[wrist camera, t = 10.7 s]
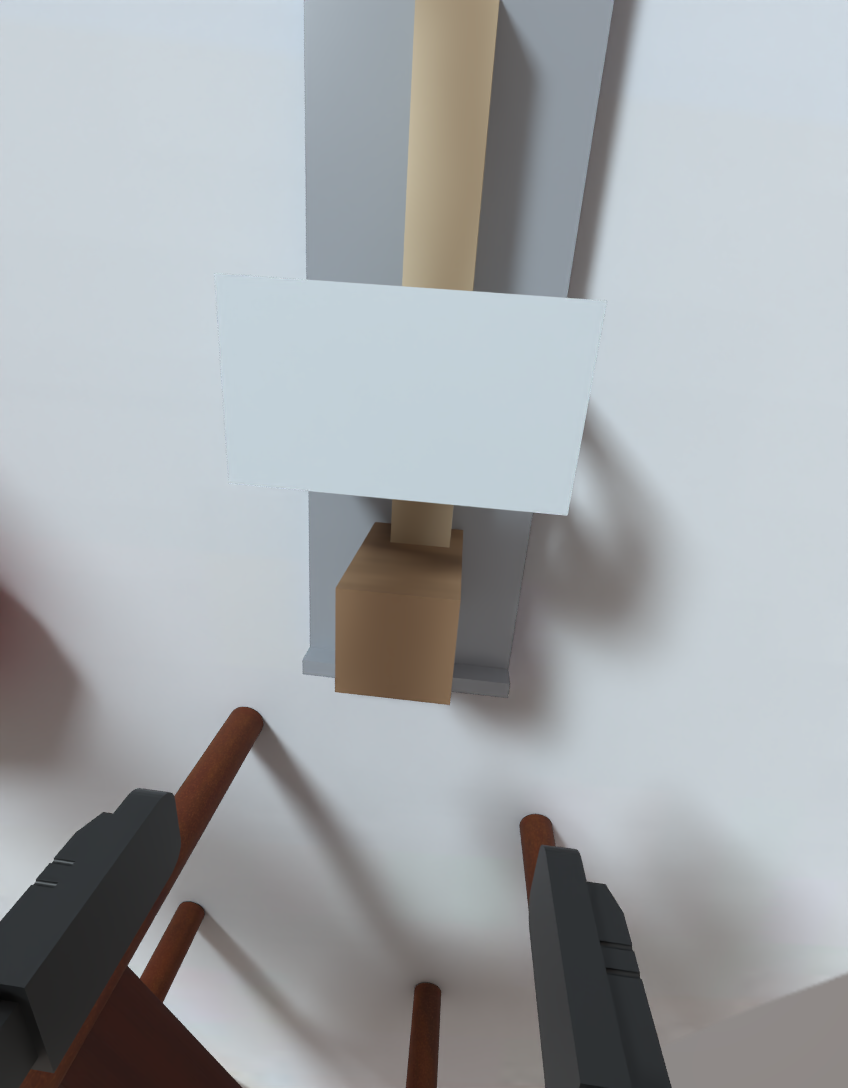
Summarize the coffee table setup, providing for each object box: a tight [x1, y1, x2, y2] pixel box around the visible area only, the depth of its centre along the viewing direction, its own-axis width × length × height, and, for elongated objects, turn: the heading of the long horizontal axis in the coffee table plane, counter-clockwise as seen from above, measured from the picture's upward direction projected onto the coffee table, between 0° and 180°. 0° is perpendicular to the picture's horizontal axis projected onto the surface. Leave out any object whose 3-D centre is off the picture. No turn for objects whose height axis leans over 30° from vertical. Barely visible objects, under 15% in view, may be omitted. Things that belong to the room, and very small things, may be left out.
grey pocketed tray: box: [214, 0, 614, 698], centre depth 14 cm, size 10×41×10 cm, turn 176°
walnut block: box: [335, 522, 463, 705], centre depth 19 cm, size 4×4×7 cm
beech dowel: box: [390, 0, 500, 548], centre depth 18 cm, size 2×18×2 cm, turn 176°
